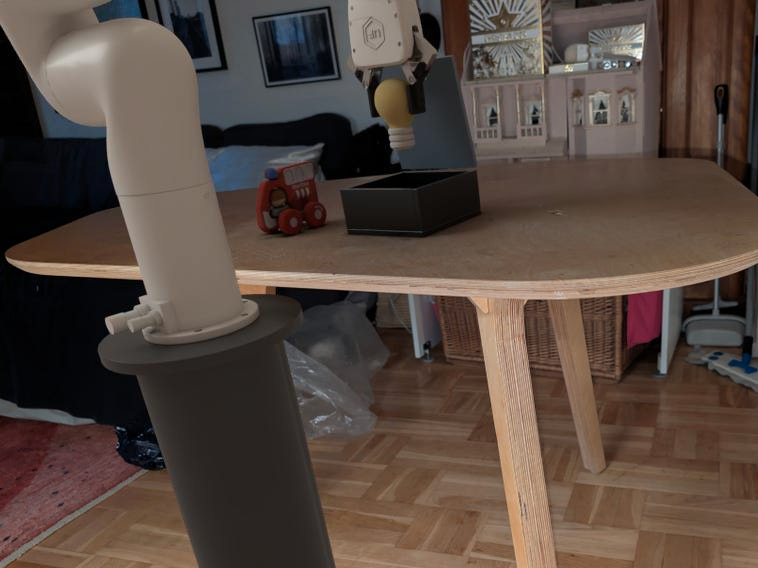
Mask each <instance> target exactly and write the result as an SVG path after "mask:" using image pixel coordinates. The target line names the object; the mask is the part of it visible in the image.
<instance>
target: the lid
mask: <svg viewBox="0 0 758 568" xmlns="http://www.w3.org/2000/svg"><path fill="white" fill-rule="evenodd" d="M419 62H421V61H419ZM390 78H403V79H405V80H407V78H406V76H405V74H404V72H403V69H402V67H401V65H395V66H386V67H383V72H382V78H381V83H382V82H383V81H385V80H387V79H390ZM461 86H462V85H461V82H460V76H459V73H458V67H457V63H456V58H455V55H454V54H452V55H444V56H443V55H442V56H436V58H435V60H434V62H433V64H432V65H431V69H430V71H429V73H428V74H427V76H426V82H424V83H423V87H424V95H425V107H426V112H425V113H420V114H415V116H414V118H413V120H412V123H411V126H413V129H414V131H413V132H412V133H414V136H415V137H414V140H415V146H413V148H412V149H409V150H402V151H396V152H397V156H398V160H399V162H400V167H401V170H428V169H429V170H430V169H432V170H436V169H437V170H438V169H471V168H472V169H473V168H475V169H476V168H477V167H478V161H477V155H476V152H475V147H474V141H473V138H472V132H471V128H470V124H469V118H468V114H467V110H466V105H465V99H464V95H463V91H462V87H461Z"/></svg>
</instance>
